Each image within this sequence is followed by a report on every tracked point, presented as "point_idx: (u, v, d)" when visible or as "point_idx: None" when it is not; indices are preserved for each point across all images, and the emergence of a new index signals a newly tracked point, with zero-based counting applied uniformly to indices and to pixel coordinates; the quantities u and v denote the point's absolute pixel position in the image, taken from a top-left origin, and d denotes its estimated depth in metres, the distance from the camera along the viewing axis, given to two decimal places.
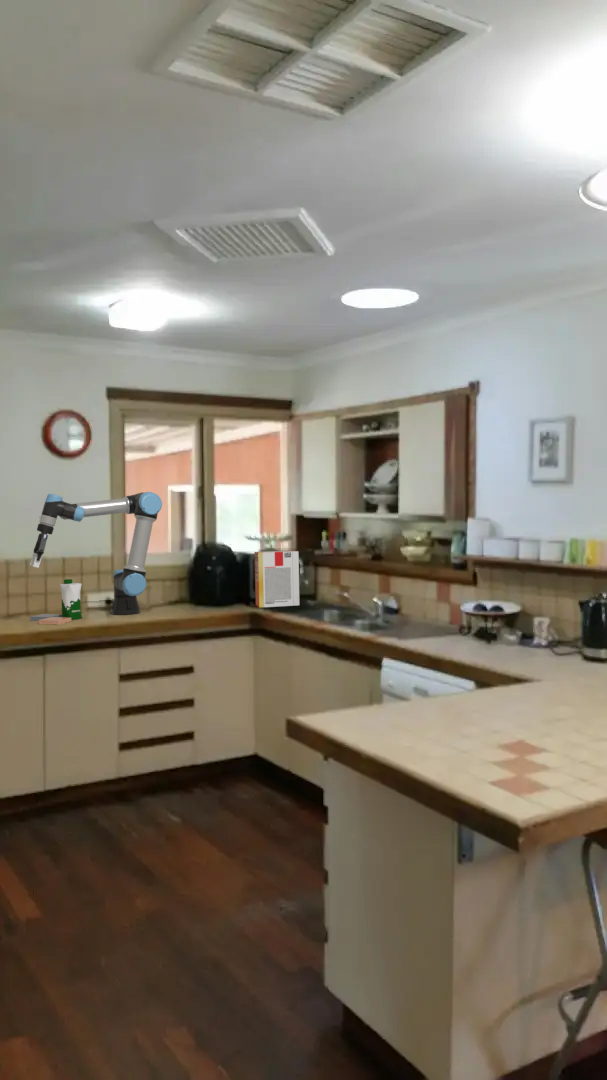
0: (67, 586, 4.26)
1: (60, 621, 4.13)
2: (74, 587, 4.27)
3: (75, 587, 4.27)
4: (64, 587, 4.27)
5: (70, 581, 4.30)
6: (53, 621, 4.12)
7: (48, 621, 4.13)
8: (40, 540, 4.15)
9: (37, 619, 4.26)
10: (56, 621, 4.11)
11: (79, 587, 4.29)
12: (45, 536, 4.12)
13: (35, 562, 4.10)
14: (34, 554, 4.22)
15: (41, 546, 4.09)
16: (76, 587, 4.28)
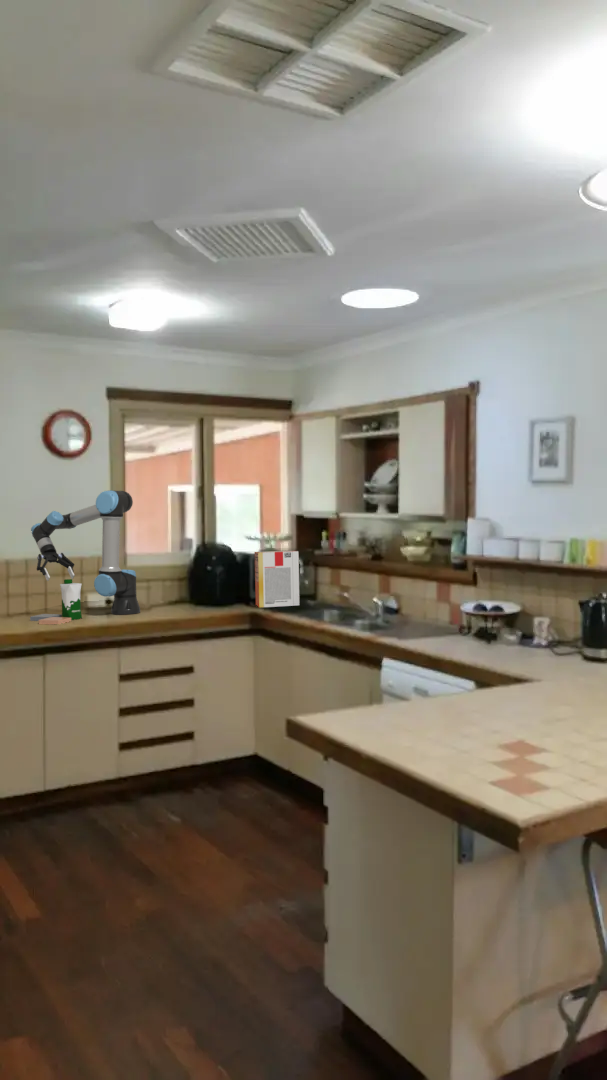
0: (67, 586, 4.26)
1: (60, 621, 4.13)
2: (74, 587, 4.27)
3: (75, 587, 4.27)
4: (64, 587, 4.27)
5: (70, 581, 4.30)
6: (53, 621, 4.12)
7: (48, 621, 4.13)
8: None
9: (37, 619, 4.26)
10: (56, 621, 4.11)
11: (79, 587, 4.29)
12: (38, 556, 4.40)
13: (46, 577, 4.34)
14: (68, 570, 4.45)
15: (37, 565, 4.37)
16: (76, 587, 4.28)
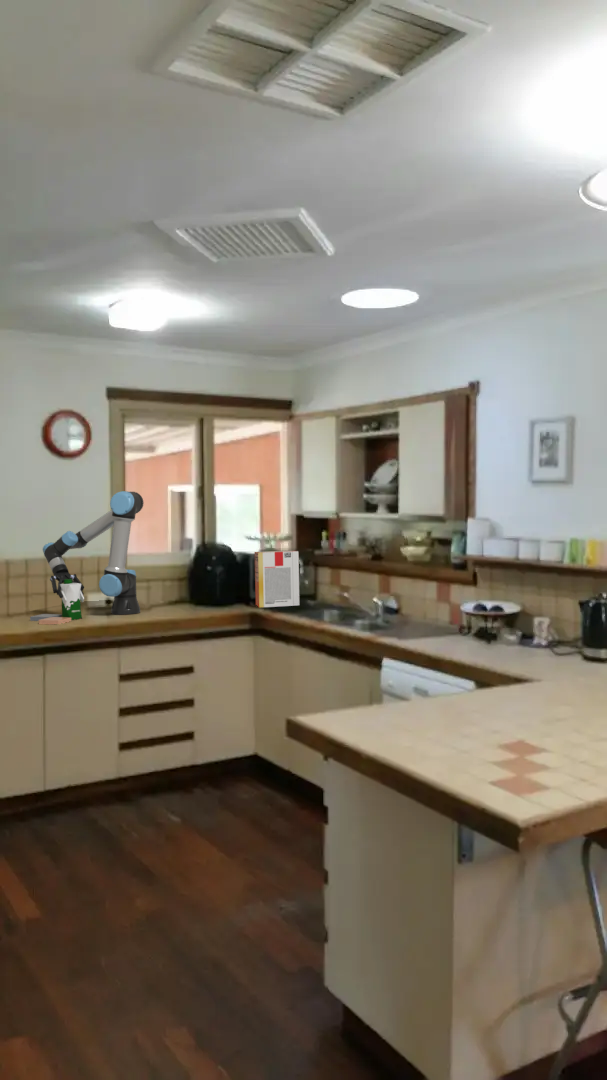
0: (67, 586, 4.26)
1: (60, 621, 4.13)
2: (74, 587, 4.27)
3: (75, 587, 4.27)
4: (64, 587, 4.26)
5: (70, 581, 4.30)
6: (53, 621, 4.12)
7: (48, 621, 4.13)
8: None
9: (37, 619, 4.26)
10: (56, 621, 4.11)
11: (79, 587, 4.29)
12: (51, 578, 4.31)
13: (63, 599, 4.26)
14: None
15: (53, 587, 4.28)
16: (76, 587, 4.28)
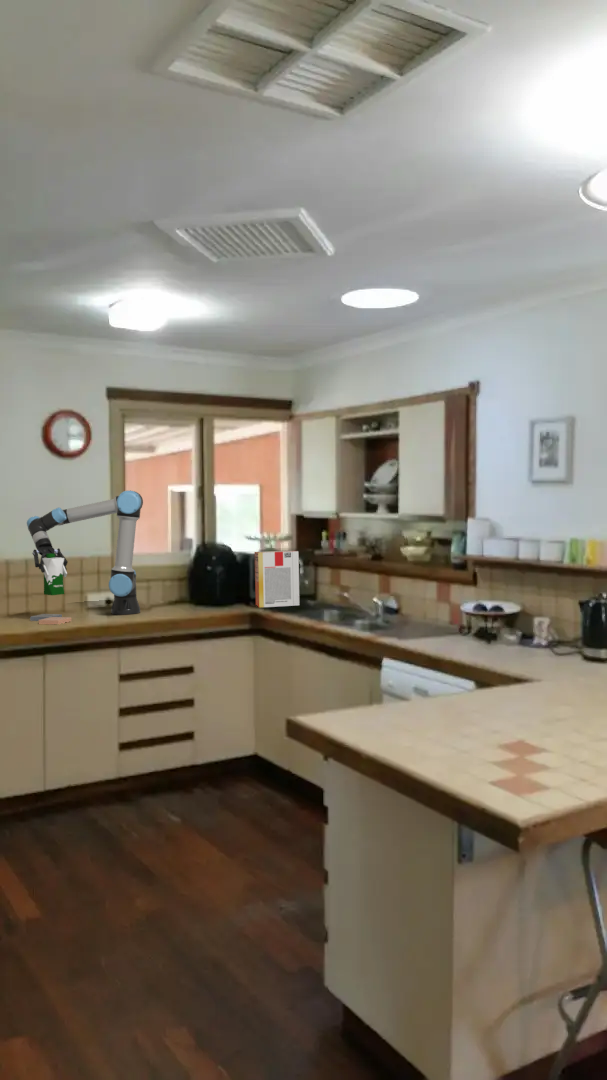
0: (49, 560, 4.14)
1: (60, 621, 4.13)
2: (56, 561, 4.15)
3: (57, 561, 4.16)
4: (46, 561, 4.15)
5: (52, 555, 4.19)
6: (53, 621, 4.12)
7: (48, 621, 4.13)
8: None
9: (37, 619, 4.26)
10: (56, 621, 4.11)
11: (61, 561, 4.18)
12: (33, 552, 4.20)
13: (44, 574, 4.15)
14: None
15: (35, 561, 4.17)
16: (58, 561, 4.16)
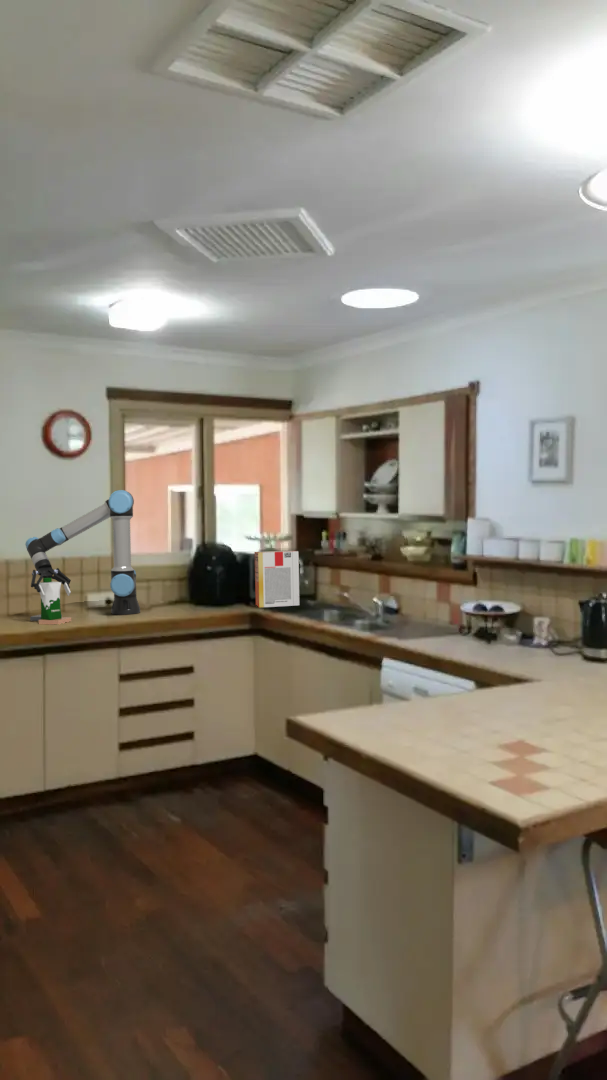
0: (46, 585, 4.12)
1: (60, 621, 4.13)
2: (53, 586, 4.14)
3: (55, 586, 4.14)
4: (44, 585, 4.13)
5: (49, 580, 4.17)
6: (53, 621, 4.12)
7: (48, 621, 4.13)
8: None
9: (37, 619, 4.26)
10: (56, 621, 4.11)
11: (59, 586, 4.16)
12: (32, 572, 4.19)
13: (40, 594, 4.13)
14: (64, 586, 4.23)
15: None
16: (56, 586, 4.15)
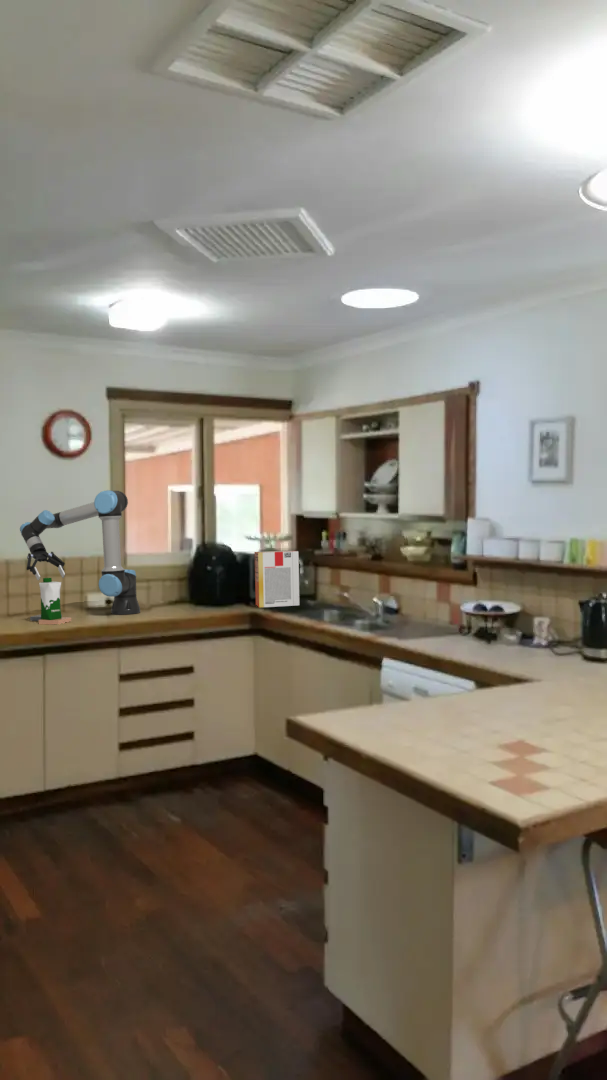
0: (46, 585, 4.12)
1: (60, 621, 4.13)
2: (53, 586, 4.14)
3: (55, 586, 4.14)
4: (44, 585, 4.13)
5: (49, 580, 4.17)
6: (53, 621, 4.12)
7: (48, 621, 4.13)
8: None
9: (37, 619, 4.26)
10: (56, 621, 4.11)
11: (59, 586, 4.16)
12: (28, 555, 4.34)
13: (36, 576, 4.28)
14: (58, 568, 4.39)
15: (27, 564, 4.31)
16: (56, 586, 4.15)
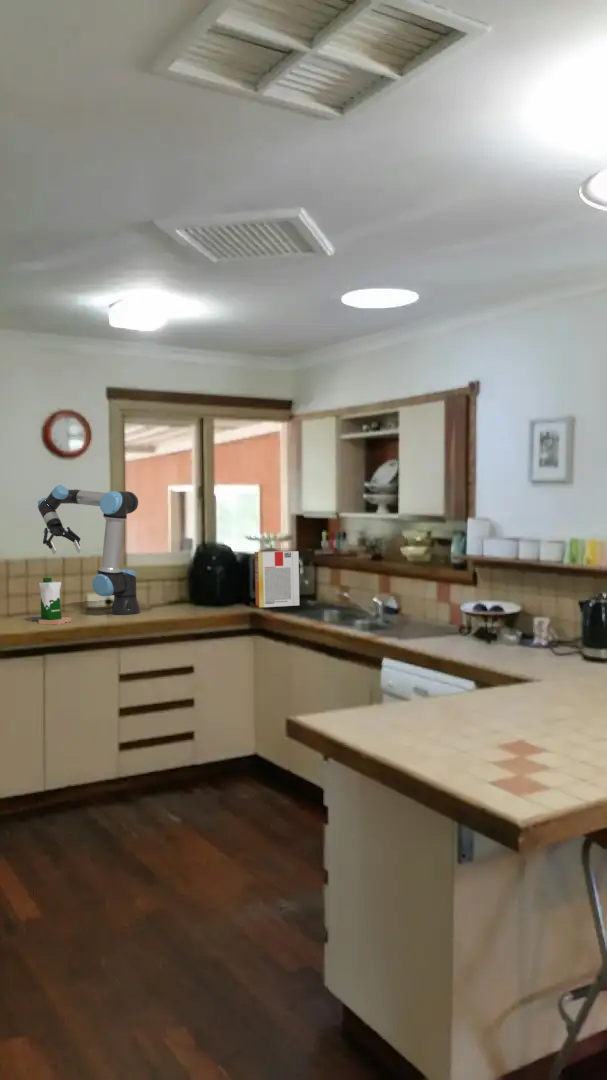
0: (46, 585, 4.12)
1: (60, 621, 4.13)
2: (53, 586, 4.14)
3: (55, 586, 4.14)
4: (44, 585, 4.13)
5: (49, 580, 4.17)
6: (53, 621, 4.12)
7: (48, 621, 4.13)
8: None
9: (37, 619, 4.26)
10: (56, 621, 4.11)
11: (59, 586, 4.16)
12: (44, 530, 4.42)
13: (52, 550, 4.36)
14: (74, 543, 4.47)
15: None
16: (56, 586, 4.15)
